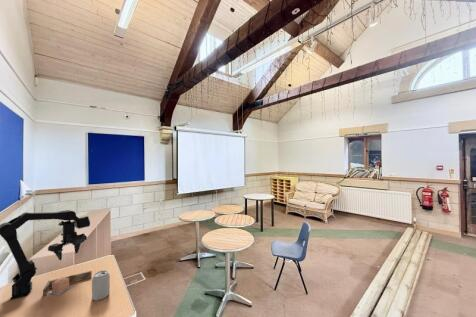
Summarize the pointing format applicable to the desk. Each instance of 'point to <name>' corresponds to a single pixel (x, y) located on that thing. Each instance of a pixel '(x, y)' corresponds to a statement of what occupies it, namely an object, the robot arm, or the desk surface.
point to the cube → (60, 285)
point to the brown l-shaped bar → (71, 279)
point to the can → (100, 285)
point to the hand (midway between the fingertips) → (68, 256)
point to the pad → (60, 292)
